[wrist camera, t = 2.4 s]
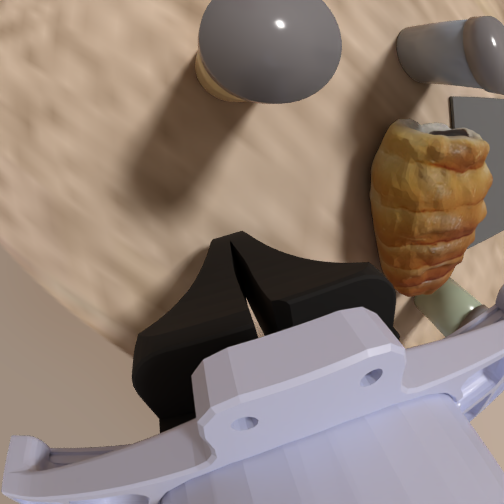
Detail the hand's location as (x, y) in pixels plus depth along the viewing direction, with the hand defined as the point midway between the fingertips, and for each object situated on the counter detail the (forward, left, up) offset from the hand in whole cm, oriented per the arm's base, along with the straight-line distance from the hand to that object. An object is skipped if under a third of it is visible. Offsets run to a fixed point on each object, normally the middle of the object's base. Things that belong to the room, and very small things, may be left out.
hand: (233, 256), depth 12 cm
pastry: (0, -10, -1) cm, 10 cm away
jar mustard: (+7, -2, -1) cm, 8 cm away
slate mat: (0, -18, -1) cm, 18 cm away
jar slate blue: (+7, -11, -1) cm, 13 cm away
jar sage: (-7, -12, -1) cm, 14 cm away
